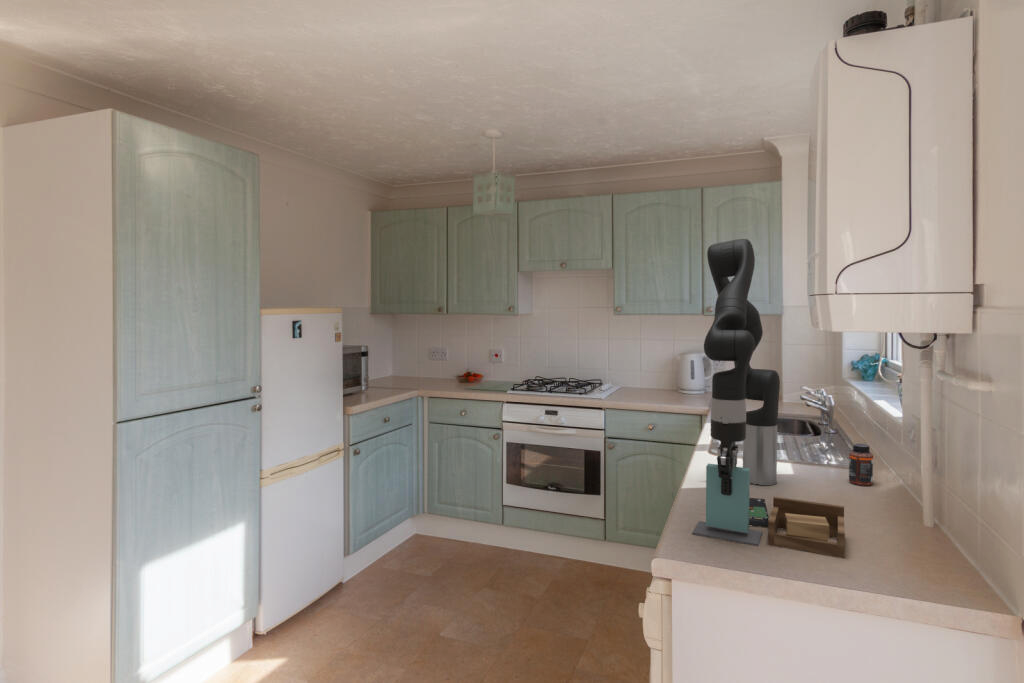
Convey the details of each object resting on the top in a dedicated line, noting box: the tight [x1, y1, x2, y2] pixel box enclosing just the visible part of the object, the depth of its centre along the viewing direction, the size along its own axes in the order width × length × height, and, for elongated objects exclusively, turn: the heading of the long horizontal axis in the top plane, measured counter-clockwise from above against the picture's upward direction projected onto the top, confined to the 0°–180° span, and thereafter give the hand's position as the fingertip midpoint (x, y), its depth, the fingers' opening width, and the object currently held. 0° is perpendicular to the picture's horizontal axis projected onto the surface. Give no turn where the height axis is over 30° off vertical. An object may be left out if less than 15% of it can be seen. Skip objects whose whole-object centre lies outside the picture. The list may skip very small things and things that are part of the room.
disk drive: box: [749, 497, 770, 528], centre depth 143 cm, size 10×3×15 cm
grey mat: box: [691, 520, 763, 547], centre depth 131 cm, size 8×14×1 cm, turn 61°
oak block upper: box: [785, 513, 830, 540], centre depth 125 cm, size 5×8×3 cm, turn 70°
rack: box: [767, 496, 846, 558], centre depth 127 cm, size 12×14×7 cm
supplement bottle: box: [848, 443, 874, 487], centre depth 166 cm, size 6×6×11 cm
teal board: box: [705, 463, 751, 533], centre depth 131 cm, size 2×9×14 cm, turn 60°
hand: (727, 492), depth 131 cm, fingers closed on teal board, 2 cm apart
